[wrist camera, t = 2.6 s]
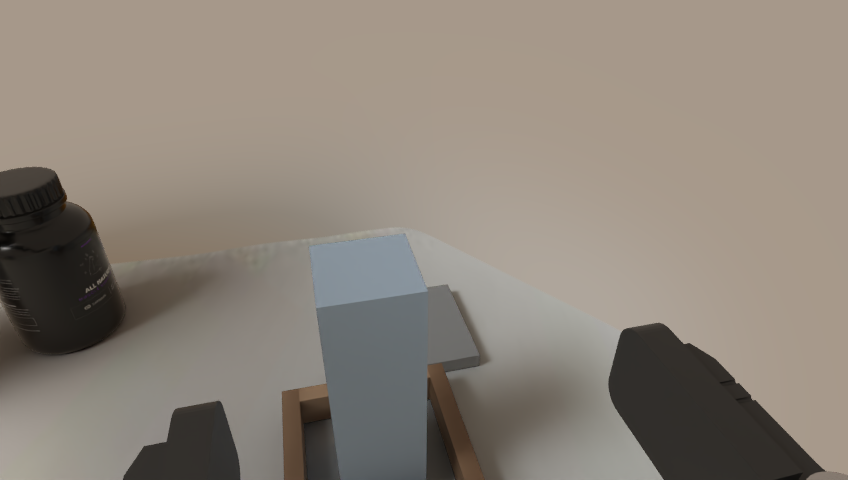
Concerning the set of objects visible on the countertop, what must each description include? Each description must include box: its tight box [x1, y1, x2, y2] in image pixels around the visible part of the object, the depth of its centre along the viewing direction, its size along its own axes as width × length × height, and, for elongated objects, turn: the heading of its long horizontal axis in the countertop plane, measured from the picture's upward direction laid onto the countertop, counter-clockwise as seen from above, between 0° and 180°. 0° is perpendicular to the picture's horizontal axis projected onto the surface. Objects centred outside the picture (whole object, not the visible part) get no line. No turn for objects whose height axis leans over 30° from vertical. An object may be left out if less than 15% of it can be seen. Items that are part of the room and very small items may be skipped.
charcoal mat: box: [427, 285, 480, 372], centre depth 39 cm, size 8×8×1 cm
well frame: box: [282, 363, 485, 480], centre depth 30 cm, size 10×10×2 cm
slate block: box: [309, 234, 428, 480], centre depth 26 cm, size 4×4×14 cm
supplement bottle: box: [0, 167, 125, 354], centre depth 37 cm, size 7×7×12 cm
